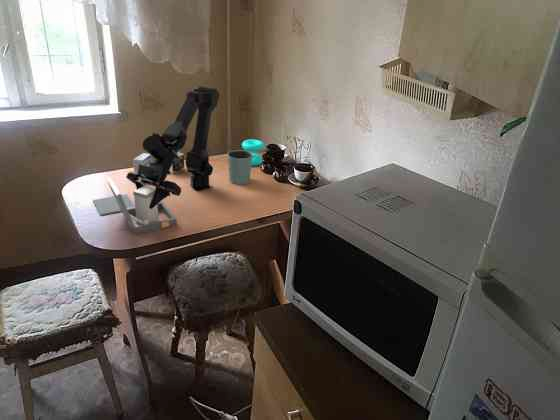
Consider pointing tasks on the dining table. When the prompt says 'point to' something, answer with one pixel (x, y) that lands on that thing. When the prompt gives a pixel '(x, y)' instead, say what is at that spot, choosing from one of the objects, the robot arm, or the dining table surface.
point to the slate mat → (111, 204)
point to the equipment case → (139, 228)
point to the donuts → (254, 150)
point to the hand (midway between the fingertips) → (143, 206)
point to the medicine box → (142, 161)
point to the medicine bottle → (177, 162)
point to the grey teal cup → (239, 166)
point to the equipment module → (145, 205)
